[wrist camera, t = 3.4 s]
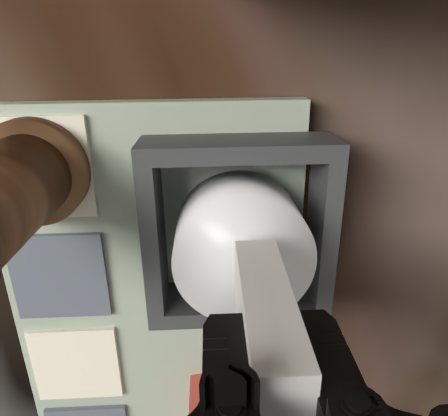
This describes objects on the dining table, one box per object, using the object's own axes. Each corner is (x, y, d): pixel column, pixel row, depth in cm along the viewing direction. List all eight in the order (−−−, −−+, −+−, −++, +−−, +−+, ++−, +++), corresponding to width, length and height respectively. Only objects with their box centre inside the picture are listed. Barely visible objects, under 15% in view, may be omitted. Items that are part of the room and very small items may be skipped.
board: (324, 96, 20) (354, 107, 16) (296, 439, 28) (311, 501, 25) (-26, 102, 19) (-85, 115, 15) (57, 451, 28) (34, 517, 24)
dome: (302, 168, 18) (322, 193, 15) (295, 279, 21) (311, 321, 17) (173, 171, 18) (166, 197, 15) (179, 283, 20) (175, 327, 17)
